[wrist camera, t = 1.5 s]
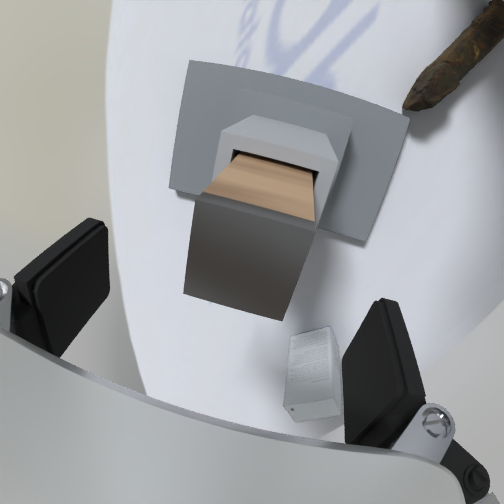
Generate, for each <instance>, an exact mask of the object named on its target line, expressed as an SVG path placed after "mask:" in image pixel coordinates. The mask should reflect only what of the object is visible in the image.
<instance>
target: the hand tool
mask: <svg viewBox="0 0 504 504" xmlns="http://www.w3.org/2000/svg"><path fill="white" fill-rule="evenodd" d="M503 37H504V1H503V0H492V1H490V2H489V6H488V7H485V8H484V11H483V13H481V14H480V15H479V16H477V17H476V19H475V20H473V21H472V24H471V25H470V26H469V27H468V28H467V29H466V30H464V31H463V32H462V33H461V35H460V36H459V37H458V38H457V39H456V40H455V41H454V42H453V43H452V44H451V45H450V46H449V47H448V48H447V49H446V50H445V51H444V52H443V53H442V54H441V55H440V56H439V57H438V58H437V59H436V60H435V61H434V62H433V63H432V64H430V65H429V66H427V67H426V68H425V69H424V71H423V72H422V73H421V74H420V76H419V77H418V78H417V79H416V82H415V83H414V85H413V86H412V88H411V90H410V92H409V93H408V95H407V97H406V99H405V101H404V103H403V106H402V108H403V109H405V110H411V111H420V110H424V109H428V108H432V107H434V106H435V105H436V104H437V103H439V102H440V101H441V100H442V99H443V98H444V97H446V96H447V95H448V94H450V93H451V92H452V91H454V90H455V89H456V88H457V87H458V86H459V84H460V81H461V80H462V78H463V77H464V76H465V75H466V74H467V73H468V72H469V71H470V70H471V69H472V68H474V66H475V65H476V64H477V63H478V62H480V61H481V60H482V59H483V58H484V57H485V56H486V55H487V54H488V53H489V52H490V51H491V50H492V49H493V48H494V47H495V46H496V45H497V44H498V43H499V42H500V41H501V40H502V39H503Z"/></svg>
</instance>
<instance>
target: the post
mask: <svg viewBox="0 0 504 504" xmlns="http://www.w3.org/2000/svg"><path fill="white" fill-rule="evenodd" d="M314 233H315V216H314V196H313V179H312V169H309V168H305V167H302V166H298V165H295V164H291V163H287V162H284V161H280V160H276V159H272V158H269V157H265V156H261V155H257V154H253V153H249V152H244V151H241V152H240V153H239V154H238V155H237V156H236V158H235V159H234V160H233V161H232V162H231V163H230V164H229V165H228V166H227V167H226V168H225V169H224V170H223V171H222V172H221V173H220V174H219V175H218V176H217V177H216V178H215V179H214V180H213V181H212V182H211V183H210V185H209V186H208V187H207V188H206V189H205V190H204V191H203V192H202V193H201V194H200V195H199V196H198V197H197V198H196V200H195V207H194V213H193V220H192V227H191V235H190V242H189V250H188V258H187V266H186V274H185V283H184V292H183V294H186V295H190V296H193V297H196V298H200V299H203V300H207V301H210V302H213V303H217V304H220V305H224V306H227V307H231V308H234V309H238V310H242V311H245V312H249V313H252V314H256V315H260V316H264V317H267V318H271V319H275V320H279V321H283V318H284V316H285V313H286V310H287V308H288V305H289V302H290V300H291V297H292V295H293V292H294V289H295V286H296V284H297V281H298V278H299V276H300V273H301V270H302V267H303V265H304V262H305V259H306V256H307V253H308V251H309V248H310V245H311V242H312V239H313V236H314Z"/></svg>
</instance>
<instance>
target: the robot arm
mask: <svg viewBox="0 0 504 504" xmlns="http://www.w3.org/2000/svg"><path fill="white" fill-rule="evenodd" d="M108 257H109V255H108V229H107V227H106V226H105V224H104V222H103V221H99V220H96V219H93V218H87V219H86V220H85V221H83V222H82V223H80V224H79V225H77V226H76V227H75V228H73V229H72V230H71V231H70V232H68V233H67V234H65V235H64V236H63V237H62V238H60V239H59V240H58V241H57V242H55V243H54V244H53V245H51V246H50V247H49V248H47V249H46V250H45V251H44V252H43V253H41V254H40V255H39V256H38V257H36V258H35V259H34V260H33V261H32V262H30V263H29V264H28V265H27V266H26V267H24V268H23V269H22V270H21V271H20V272H18V273H17V274H16V275H15V276H14V279H15V283H14V284H13V285H11V283H10V282H9V281H8V280H6V279H3V278H0V504H500V503H499V502H498V500H497V498H496V497H495V495H494V493H493V492H492V493H490V494H489V493H488V491H489V487H490V478H489V475H488V472H487V470H486V469H485V468H484V467H483V465H481V464H480V463H479V462H478V461H477V460H476V459H475V458H474V457H473V456H471V455H470V454H469V453H468V452H467V451H466V450H465V449H464V448H462V446H460V445H459V444H458V443H457V442H456V441H455V440H454V439H453V436H454V433H455V423H454V420H453V418H452V416H451V415H450V413H449V412H448V411H447V410H446V409H445V408H444V407H442V406H440V405H438V404H435V403H428V404H426V401H425V396H426V395H425V391H424V387H423V383H422V379H421V376H420V372H419V368H418V365H417V361H416V358H415V354H414V351H413V347H412V344H411V341H410V338H409V334H408V331H407V328H406V325H405V322H404V319H403V316H402V313H401V310H400V307H399V304H398V302H396V301H393V300H389V299H385V298H381V299H380V300H379V301H374V303H373V304H372V306H371V308H370V310H369V311H368V313H367V315H366V317H365V319H364V321H363V322H362V324H361V326H360V328H359V330H358V331H357V333H356V335H355V336H354V338H353V340H352V342H351V343H350V345H349V347H348V348H347V350H346V352H345V353H344V355H343V358H342V378H343V398H344V426H345V443H346V444H343V443H336V442H329V441H323V440H316V439H310V438H304V437H298V436H292V435H287V434H281V433H276V432H272V431H267V430H262V429H258V428H253V427H249V426H245V425H241V424H237V423H233V422H229V421H225V420H221V419H218V418H214V417H210V416H207V415H203V414H200V413H197V412H193V411H190V410H187V409H184V408H181V407H178V406H175V405H171V404H169V403H166V402H163V401H160V400H157V399H154V398H151V397H149V396H146V395H143V394H141V393H138V392H135V391H133V390H130V389H128V388H125V387H123V386H120V385H118V384H115V383H113V382H110V381H108V380H106V379H103V378H101V377H99V376H96V375H94V374H92V373H90V372H88V371H85V370H83V369H81V368H79V367H77V366H75V365H73V364H70V363H68V362H66V361H64V360H62V359H60V357H61V356H62V354H63V353H64V352H65V350H66V349H67V348H68V346H69V345H70V343H71V342H72V341H73V340H74V338H75V337H76V336H77V335H78V333H79V332H80V331H81V329H82V328H83V327H84V325H85V324H86V323H87V321H88V320H89V319H90V318H91V316H92V315H93V314H94V313H95V312H96V310H97V309H98V308H99V306H100V305H101V304H102V303H103V302H104V300H105V299H106V298H107V296H108V294H109V291H110V281H109V258H108Z"/></svg>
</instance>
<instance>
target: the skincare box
mask: <svg viewBox="0 0 504 504" xmlns="http://www.w3.org/2000/svg"><path fill="white" fill-rule="evenodd" d="M283 407H284V408H285V409H286V410H287V412H288V413H289V415H290V416H291V417H292V419H293V420H294V421H295V422H296V423H297V422H303V421H309V420H315V419H321V418H327V417H332V416H337V415H341V414H342V403H341V383H340V365H339V350H338V344H337V341H336V339H335V336H334V333H333V331H332V328H331V326H329V327H325V328H321V329H318V330H314V331H310V332H306V333H302V334H298V335H294V336H290V344H289V355H288V366H287V376H286V386H285V396H284V404H283Z"/></svg>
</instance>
